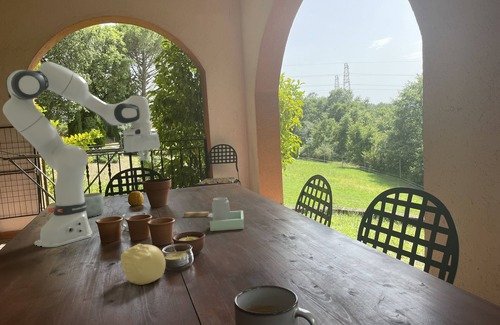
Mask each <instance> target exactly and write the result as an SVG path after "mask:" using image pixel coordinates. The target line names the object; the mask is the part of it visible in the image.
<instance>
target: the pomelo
mask: <svg viewBox="0 0 500 325" xmlns="http://www.w3.org/2000/svg"><path fill="white" fill-rule="evenodd" d="M165 257H166V256H165V255H164V254H163V251H162V250H161V249H160V248H159V247H157V246H155V245H152V244H142V243H137V244H135V245H133V246H132V247H127V249H125V250H124V252H121V254H120V261H121V266H122V269H123V271H124V274H125V277H126V279H127V281H129V282H130V283H132V284H134V285H141V286H143V285H147V284H150V283H154V282H155V281H157V280H159V279H160V278H161V277H162V276H163V275H164V273H165V270H166V264H167V263H166V262H167V261H166V258H165Z"/></svg>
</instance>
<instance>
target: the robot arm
mask: <svg viewBox="0 0 500 325" xmlns="http://www.w3.org/2000/svg"><path fill="white" fill-rule="evenodd" d="M5 86H6V91H7V95H8V97H9V99H8V100H7V101H6V102H4V105H3V107H2V112H3V113H2V114H3V115H4V116H5V118H6V119H7V120H8V122H9V123H10V124H11V125H12V126H13V128H14V129H15V130H16V131H17V132H18V133H19V134H21V135H22V137H24V139H26V140H27V141H28V143H29V144H31V146H33V148H34V149H35V150H36V151H37V153H38V154H39V155H40V156H41V158H42V159H43V160H44V162H45V164H46V165H47V166H48V167H49V168H50V169H52V170H55V171H57V174H56V182H55V183H54V184H55V185H54V193H55V202H56V203H55V207H47V208H48V209H47V212H48V213H53V214H52V217H51V218H49V220H48V221H47V222H45V224H44V225H43V226H42V227H41V228H40V235H39V236H40V238H39V239H37V240H35V241H34V245H35V246H36V245H37V247H40V246H42V248H57V247H61V246H64V245H68V244H71V243H75V242H79V241H81V240H85V239H89V238H91V236H92V234H93V231H92V229H91V226H90V222H89V219H88V218H89V217H87V213H86V211H87V206H86V202H85V198H84V194H85V190H84V189H85V188H84V177H85V170H86V166H87V165H88V161H89V156H88V152H86V150H85V149H83V148H82V147H80V146H77V145H74V144H67V143H66V142H65V141H64V140H63V139H62V137H61V135H60V134H59V132H58V129H57V127H55V126H54V125H53V123H51V121H50V120H49V119H48V118H47V117H46V116H45V115H44V114H43V113H42V112H41V111H40V110H39V109H38V108H37V107H36V105H35V103H34V99H36V98H38V97H39V96H41V95H42V94H43V93H44V92H45V91H46V90H47V91H51V92H53V93H54V94H57V95H59V96H60V97H63V98H64V99H66V100H69V101H72V102H74V103H77V104H78V105H81V106H82V107H84V108H85V109H88V110H89V111H91V112H93V113H94V114H96V115H98V117H100V118H101V119H102V121H103V122H104V123H105V124H106V125H108V126H111V127H117V126H121V125H128V124H130V125H131V127H129V128H126V129H125V130H123V133H122V135H123V136H124V137H123V148H124V151H125V152H126V153H135V152H137V154H138V155H139V157H140V161H147V160H148V159H149V158H148V156H149V153H150V150H157V149H158V150H159V149H160V147H161V142H160V137H159V134H158V131H157V130H155V129H152V124H151V123H152V122H151V120H150V116H151V114H150V113H151V112H150V106H149V100H148V99H147V98H146V97H145V96H144V95H138V94H137V95H135V94H134V95H133V94H132V95H130V96H129V97H128V98H127V99H125V100H123V101H121V102H118V103H113V104H112V103H106V102H105V101H104V100H102V99H99V98H98V97H97V96H95V95H94V94H92V93H91V92H90V90H89V83H88V82H87V81H86V79H84V78H83V77H82V76H81V75H79V73H76V72H75V71H72V70H71V69H69V68H67V67H65V66H63V65H61V64H58V63H56V62H53V61H44V62H43V63H41V64H40V65H39V66H38V67H37V69H36V70H30V69H28V70H27V69H17V70H14V71H12V72H10V73H9V74H8V75H7V77H6V79H5Z"/></svg>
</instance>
